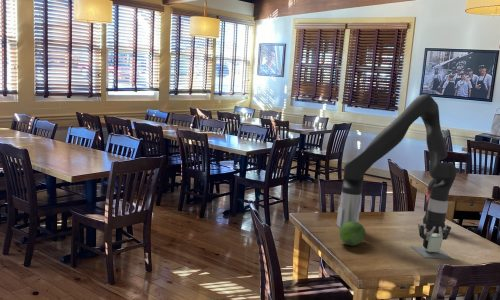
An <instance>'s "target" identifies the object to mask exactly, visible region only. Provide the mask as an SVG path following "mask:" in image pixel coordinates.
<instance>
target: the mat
mask: <svg viewBox="0 0 500 300" xmlns="http://www.w3.org/2000/svg"><path fill="white" fill-rule="evenodd" d="M411 248H412V250H414V251H415V252H417V253H418V254H419V255H420V256H421V257H422V256H423V257H422V258H424V259H442V260H443V259H444V260H445V259H446V260H447V259H448V260H449V259H450V260H451V259H452V257H451V256H450V255H448V254H447V253H445V252H444V251H443V250H442V249H440V252H428V251H427V250H426V249H425V248H423V246H411Z"/></svg>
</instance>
